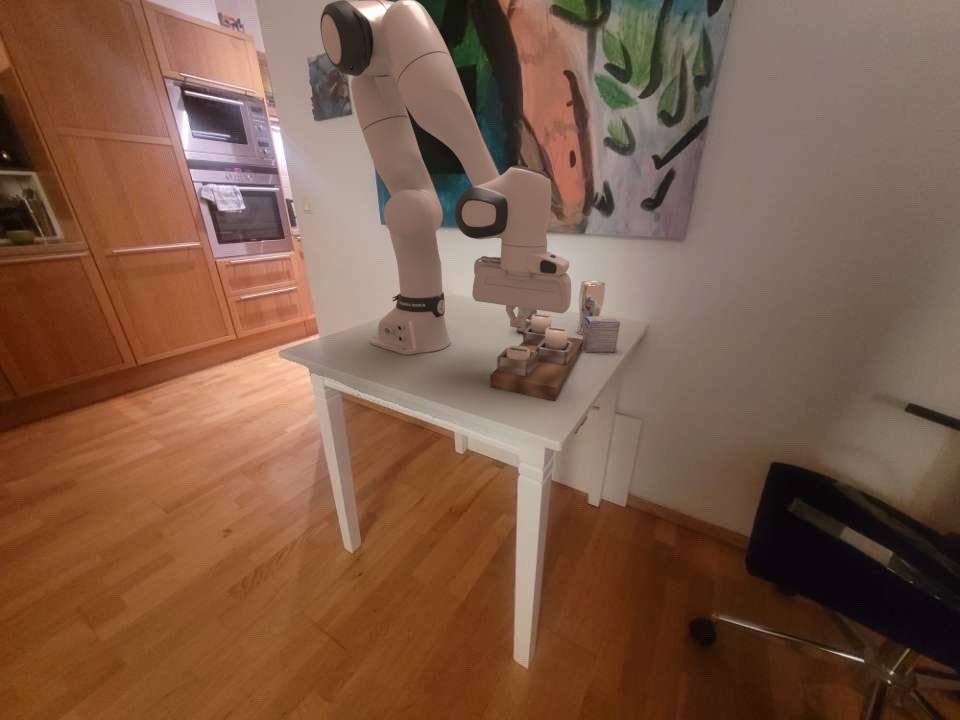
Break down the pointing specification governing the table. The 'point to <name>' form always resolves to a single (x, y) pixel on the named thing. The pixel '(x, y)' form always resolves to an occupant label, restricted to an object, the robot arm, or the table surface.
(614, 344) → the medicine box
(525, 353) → the knob
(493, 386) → the knob mount
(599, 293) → the beer glass
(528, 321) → the plastic bottle
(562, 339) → the knob
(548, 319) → the knob
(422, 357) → the table surface
